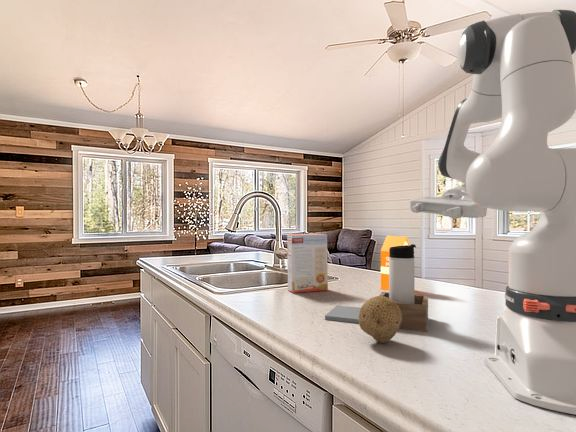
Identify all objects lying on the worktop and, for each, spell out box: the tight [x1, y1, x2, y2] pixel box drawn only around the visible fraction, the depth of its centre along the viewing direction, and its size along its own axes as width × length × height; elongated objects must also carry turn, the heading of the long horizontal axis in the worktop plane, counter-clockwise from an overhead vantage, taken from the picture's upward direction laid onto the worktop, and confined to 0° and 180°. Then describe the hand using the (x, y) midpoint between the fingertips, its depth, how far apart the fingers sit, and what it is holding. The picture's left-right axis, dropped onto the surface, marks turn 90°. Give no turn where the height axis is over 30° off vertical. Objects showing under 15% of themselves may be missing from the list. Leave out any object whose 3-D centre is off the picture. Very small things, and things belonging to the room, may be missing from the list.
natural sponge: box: [358, 295, 402, 344], centre depth 76 cm, size 9×9×10 cm
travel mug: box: [388, 243, 417, 304], centre depth 92 cm, size 6×7×20 cm
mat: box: [324, 305, 361, 324], centre depth 97 cm, size 12×11×1 cm
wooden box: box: [378, 291, 429, 332], centre depth 92 cm, size 12×12×6 cm
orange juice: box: [380, 235, 411, 291], centre depth 133 cm, size 8×9×20 cm
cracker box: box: [286, 233, 329, 294], centre depth 131 cm, size 14×6×21 cm, turn 108°
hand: (429, 211), depth 97 cm, fingers open, 8 cm apart
